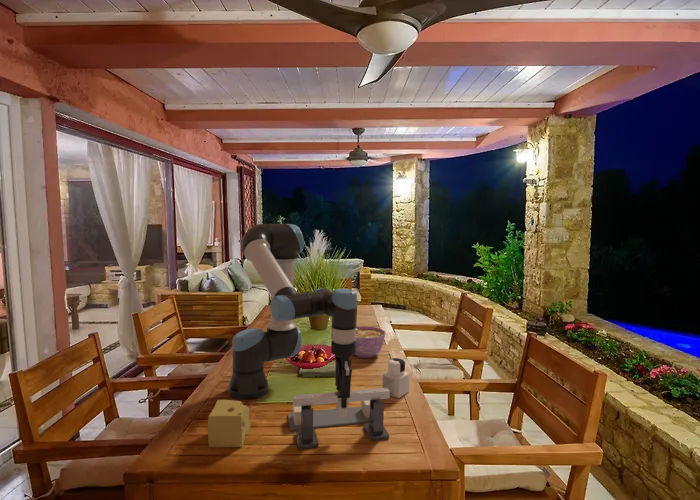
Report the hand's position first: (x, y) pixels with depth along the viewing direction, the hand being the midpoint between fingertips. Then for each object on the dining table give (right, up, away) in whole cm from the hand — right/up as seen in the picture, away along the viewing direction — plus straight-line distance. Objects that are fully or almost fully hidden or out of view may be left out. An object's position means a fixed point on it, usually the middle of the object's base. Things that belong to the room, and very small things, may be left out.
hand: (341, 413), depth 122 cm
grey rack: (0, -7, 0) cm, 7 cm away
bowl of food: (+10, -1, +72) cm, 73 cm away
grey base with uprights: (-3, -6, +11) cm, 13 cm away
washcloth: (-11, -3, +51) cm, 52 cm away
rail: (0, +4, 0) cm, 4 cm away
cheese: (-34, -7, -2) cm, 35 cm away
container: (+20, -5, +32) cm, 38 cm away
